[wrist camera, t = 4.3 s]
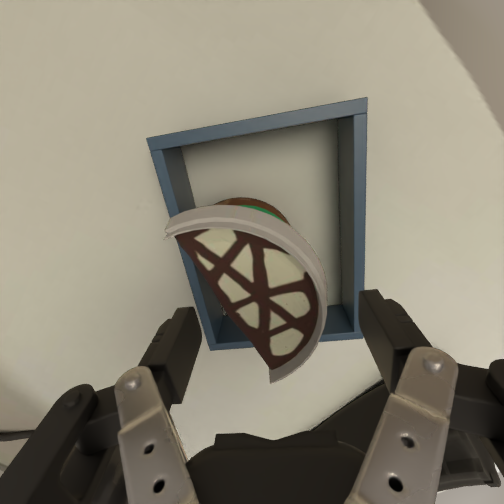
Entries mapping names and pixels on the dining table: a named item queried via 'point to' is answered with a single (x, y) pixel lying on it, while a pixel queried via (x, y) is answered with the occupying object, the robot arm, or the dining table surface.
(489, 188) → the dining table surface
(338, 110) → the blue rectangular frame
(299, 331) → the food container
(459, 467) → the magazine
